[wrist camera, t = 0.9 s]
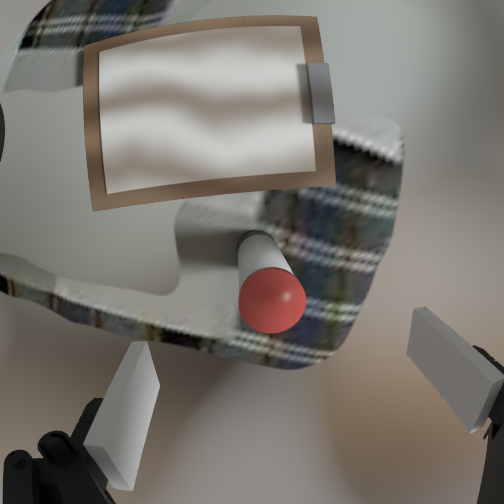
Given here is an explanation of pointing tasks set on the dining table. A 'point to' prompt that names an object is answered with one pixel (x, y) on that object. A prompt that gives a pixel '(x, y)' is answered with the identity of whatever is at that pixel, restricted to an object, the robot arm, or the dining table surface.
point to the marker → (267, 285)
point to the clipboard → (207, 110)
